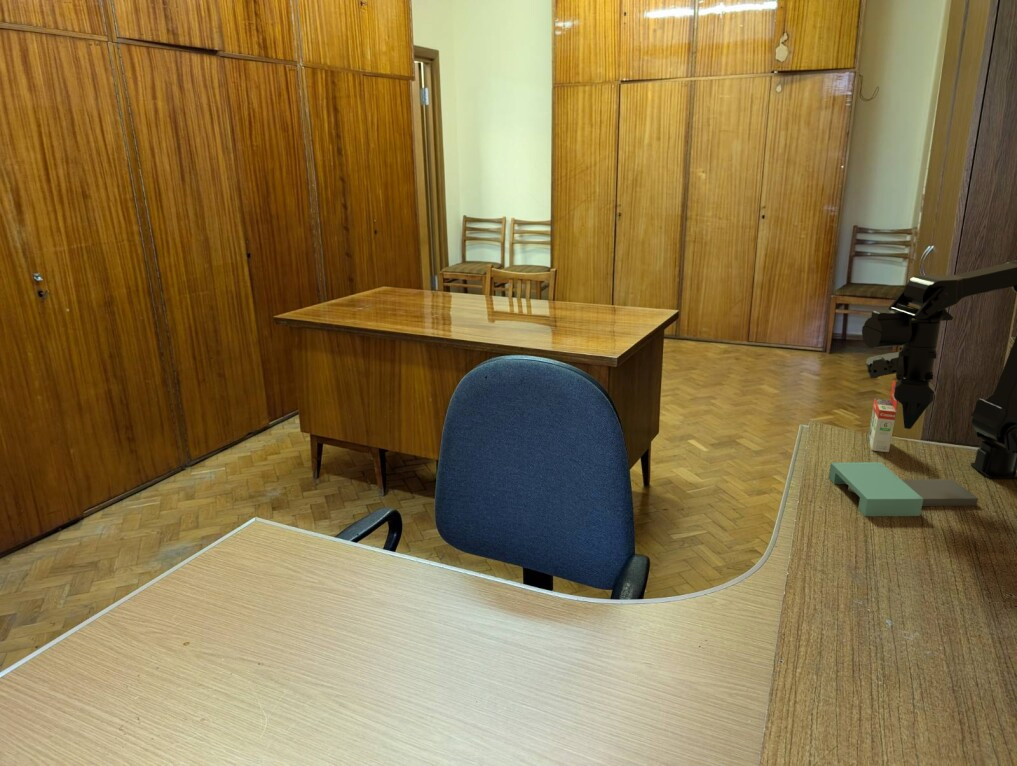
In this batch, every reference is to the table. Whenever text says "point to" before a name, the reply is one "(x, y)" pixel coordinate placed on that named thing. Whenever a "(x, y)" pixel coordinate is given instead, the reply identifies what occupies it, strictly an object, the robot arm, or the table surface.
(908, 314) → the robot arm
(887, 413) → the ink box
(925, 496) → the thin grey plate
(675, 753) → the table surface
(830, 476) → the overhang
